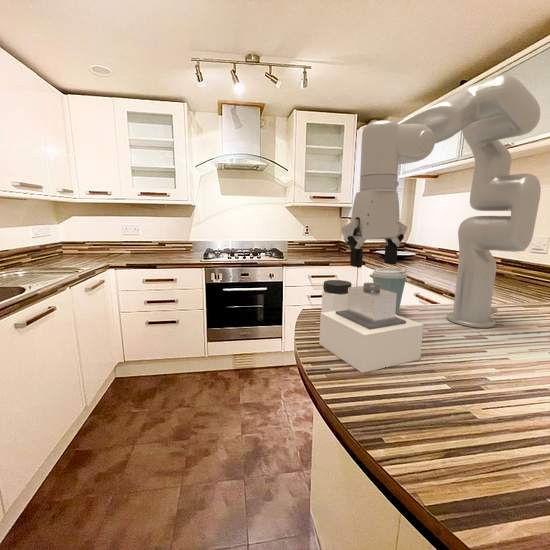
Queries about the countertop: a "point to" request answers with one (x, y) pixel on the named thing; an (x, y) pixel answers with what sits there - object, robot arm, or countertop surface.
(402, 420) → the countertop surface
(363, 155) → the robot arm
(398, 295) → the disposable coffee cup
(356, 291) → the housing
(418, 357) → the stand
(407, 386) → the countertop surface
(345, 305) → the jar
